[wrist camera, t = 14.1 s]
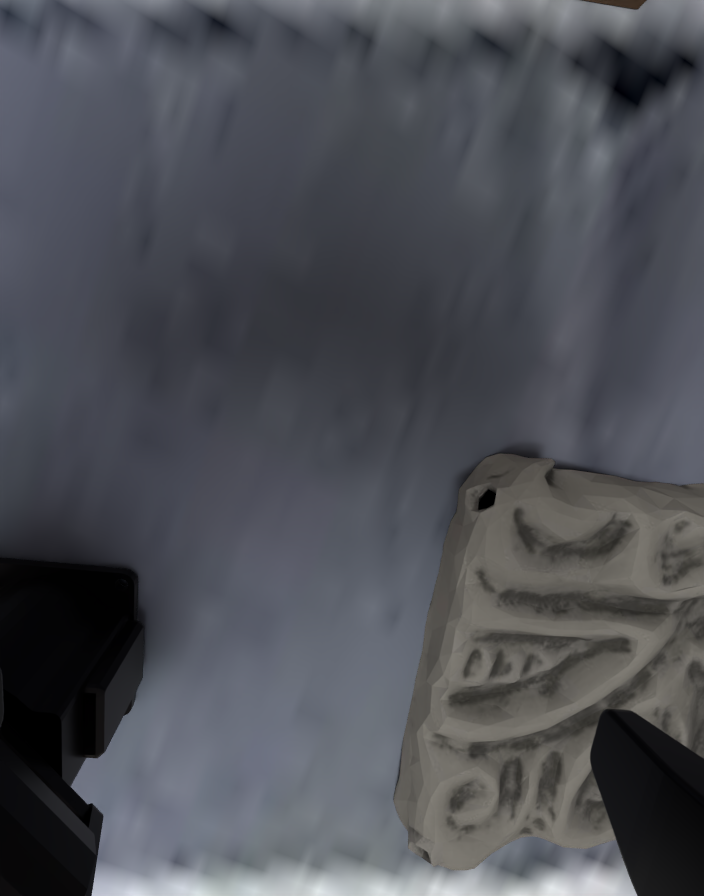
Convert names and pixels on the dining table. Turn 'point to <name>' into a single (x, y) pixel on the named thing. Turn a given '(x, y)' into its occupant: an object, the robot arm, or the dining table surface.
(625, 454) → the dining table surface
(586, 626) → the wall plaque
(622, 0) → the walnut tray
